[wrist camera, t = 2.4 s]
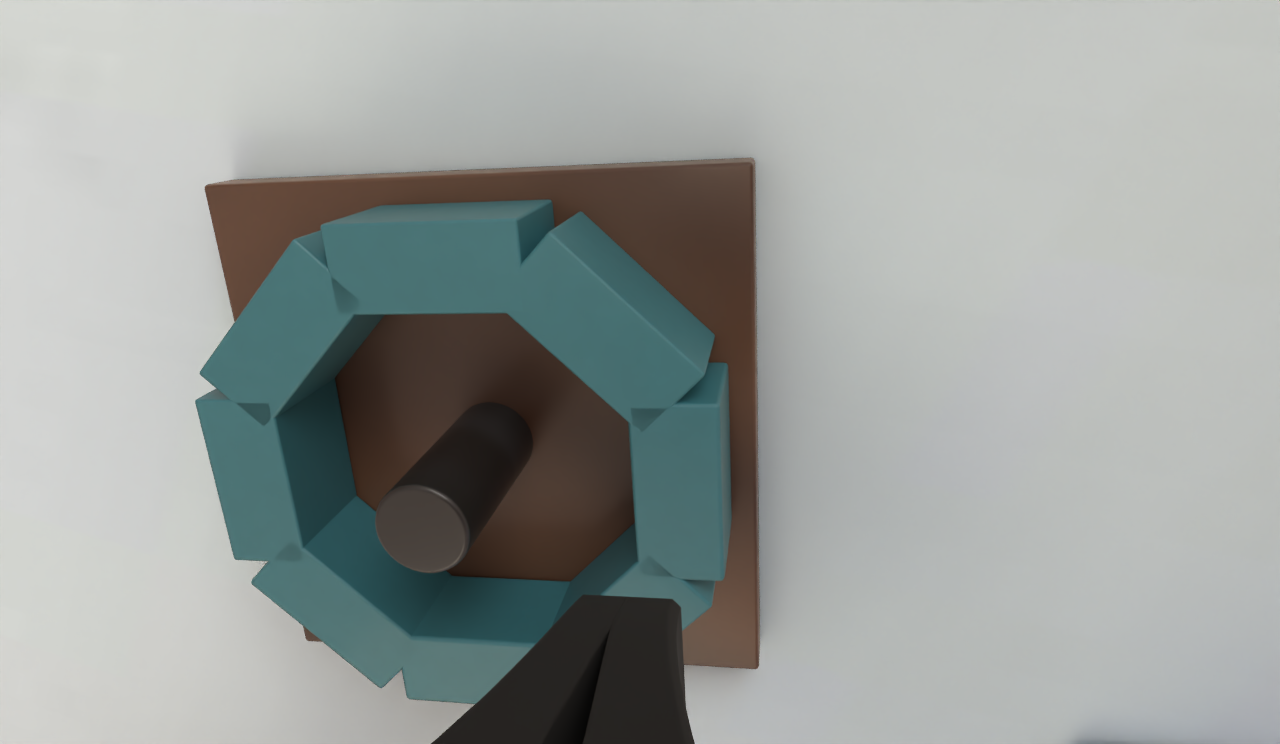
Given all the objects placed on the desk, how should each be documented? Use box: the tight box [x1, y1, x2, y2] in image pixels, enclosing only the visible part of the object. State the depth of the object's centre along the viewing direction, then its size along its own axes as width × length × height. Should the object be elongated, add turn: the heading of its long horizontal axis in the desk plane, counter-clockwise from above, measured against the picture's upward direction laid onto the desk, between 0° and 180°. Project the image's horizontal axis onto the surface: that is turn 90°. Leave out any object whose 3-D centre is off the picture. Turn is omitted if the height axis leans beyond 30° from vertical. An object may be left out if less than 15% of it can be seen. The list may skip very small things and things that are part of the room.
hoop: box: [195, 199, 732, 704], centre depth 17 cm, size 10×10×2 cm
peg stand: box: [205, 158, 760, 669], centre depth 17 cm, size 12×12×5 cm
